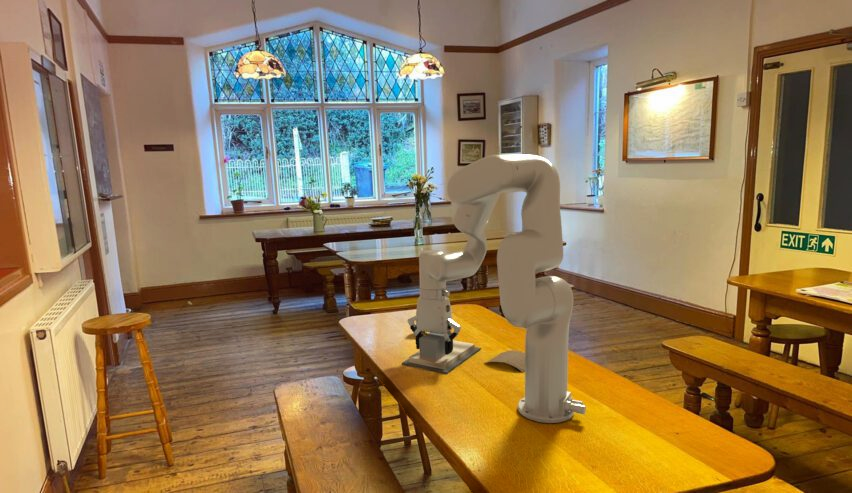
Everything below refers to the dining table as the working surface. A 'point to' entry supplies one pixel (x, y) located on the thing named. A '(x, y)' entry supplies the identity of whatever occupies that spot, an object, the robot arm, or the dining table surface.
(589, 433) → the dining table surface
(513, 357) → the clay tablet
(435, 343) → the block
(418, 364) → the board
